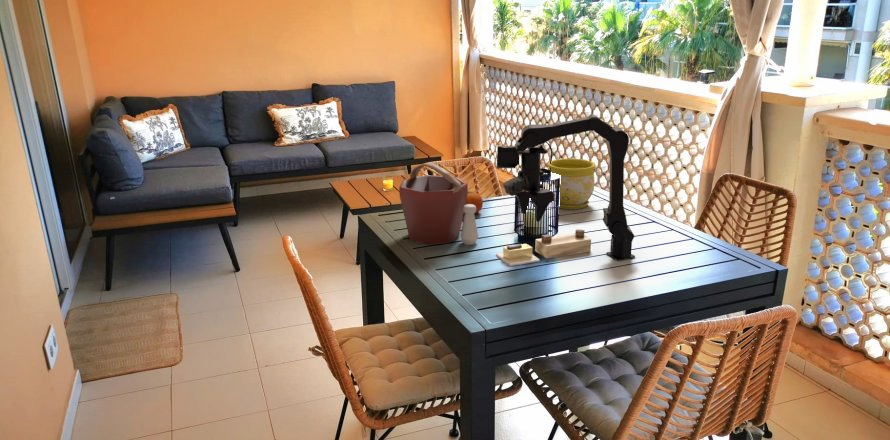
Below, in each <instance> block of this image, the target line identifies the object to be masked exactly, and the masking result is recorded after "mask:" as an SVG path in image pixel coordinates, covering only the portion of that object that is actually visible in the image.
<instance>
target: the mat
mask: <svg viewBox="0 0 890 440" xmlns="http://www.w3.org/2000/svg"><path fill="white" fill-rule="evenodd" d="M495 256H496V257H497V258H498V259H500V260H501V261H503V262H504V263H506V264H507V265H508V266H509V267H513V266H520V265H525V264H527V265H528V264H531V263H538V262H541V260H540V258H538V257H537V256H535V255H534V254H532V257H528V258H521V259H515V260H508V259H506V258H505V257H504V256H503V252H498V253H497V252H496V253H495Z"/></svg>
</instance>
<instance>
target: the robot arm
mask: <svg viewBox="0 0 890 440" xmlns="http://www.w3.org/2000/svg"><path fill="white" fill-rule="evenodd" d="M590 131H593V132H595V133H596V134H597V135H598V136H600V137H602V138H603V139H604V140H605V142H606V149H607V152H608V156H609V199H608V200H609V203H608V206H607V208H605V207H604V208H602V210H603V218H602V221H603V223H604V225H605V227H606V228H607V230H608V232H609V233H610V234H611V237H610V238H611V239H610V248H609V250H610V251H606V253H605V254H606V255H607V256H609V257H611V258H613V259H614V260H616V261H623V260H630V259H635V258H636V255H634V254H632V249H633V248H632V247H633V246H632V245H633V240H634V239H635V234H634V232H633V231H632V229H631V228H630V226H629V225H628V220H627V215H626V210H625V208H624V184H625V183H624V177H625V175H624V174H625V169H624V168H625V159H626V155H627V153H628V148H629V144H630V137H629V135H628V134H627V133H626V131H624V130H623V129H622V128H620V126H619V127H617V126H615V127H613V126H611V125H610V124H608V123H607V122H605V121H603V120H602V119H601V118H599V117H598V116H597V115H595V114H592V115H589V116H587V117H581V118H576V119H572V120H567V121H562V122H558V123H557V122H556V123H552V124H539V123H536V124H527V125H525V126H523V128H522V130H521V131H520V137H519V138H518V140H517V141H516V142H515V144H514V145H497V146H496V149H497V151H496V169H499V170H500V169H516V168H517V167H518V166H519V165H520V160H521V165H520V167H521V170H520V169H519V170H518V171H517V176H515V177H511V179H509V180H506V181H505V182H503V183H502V186H503V189H504V191H505V193H506V194H508V195H509V196H511V197H513V196H515V197H516V199H517V203H518V206H519V208H520V211H521V214H522V215H523V214H525V213H526V210H527V206H528V202H529V198H531V200H532V201H530V202H531V203H532V204H533V205H534V207H535V217H536V218H535V221H536V222H537V223H538V222H541V219H542V218H543V216H544V214H545V212H546V210H547V208H548V207H549V206H550V204H552V201H554V197H555V194H554V193H553V192H552V191H550V190H548V188H544V185H542V184H540V175H542V176H544V171H543V170H541V169H540V163H541V160H542V159H541V157H542V156H541V155H542V154H545V155H546V154H548V150H547V148H545V147H544V146H543V144H546V143H547V142H549V141H551V140H554V139H557V138H561V137H566V136H567V137H568V136H571V135H576V134H581V133H586V132H590ZM520 155H521V156H520ZM520 157H521V159H520ZM540 188H543V189H541V190H539V189H540Z"/></svg>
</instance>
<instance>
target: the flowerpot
mask: <svg viewBox="0 0 890 440" xmlns="http://www.w3.org/2000/svg"><path fill="white" fill-rule="evenodd" d="M550 161H551V164H550ZM550 161H549V162H547V167H548V170H549V169H550V168H551V172H552V173H556V174H559V175H561V185H560V208H559V209H561V210H562V209H565V210H580V209H581V210H582V209H583V208H586V207H587V205H589V203H590V201H589V200H590V198H591V197H592V196H593V192H594V189H595V168H596V166H597V165H596V163H595V162H594V161H591V160H587V159H581V158H559V159H558V158H557V159H553V160H550Z"/></svg>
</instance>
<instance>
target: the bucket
mask: <svg viewBox="0 0 890 440" xmlns="http://www.w3.org/2000/svg"><path fill="white" fill-rule="evenodd" d="M426 167H428V168H430V169H432V170H434V171H435V172H437V173H438V174H439V175H429V174H427V175H421V176H418V174H419V173H420V171H421V169H423V168H426ZM468 185H469V184H468V183H467V182H465V181H464V180H462V179H460V178H458V177H457V176H453V175H452V174H451V173H450V171H448V170H446V169H444V168H443V167H441V166H439V165H437V164H435V163H431V162H427V163H422V164H419V165H416V166H414V167H413V168H412V170H411V171H410V173H409V178H406V179H403V180H402V181H401V182H400V185H399V186H398V188H399V189H398V190H399V201H400V203H401V207H402V213H403V216H404V220H405V225H406V230H407V233H408V238H409V241H412V242H415V243H419V244H421V245H426V246H427V245H439V244H449V243H451V242H452V241H454V240H456V239H457V238H459V237H460V235H461V230H462V225H463V220H464V215H465V214H464V212H463V207H464V205H465V204H466V198H467V193H468V191H469V188H468Z"/></svg>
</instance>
